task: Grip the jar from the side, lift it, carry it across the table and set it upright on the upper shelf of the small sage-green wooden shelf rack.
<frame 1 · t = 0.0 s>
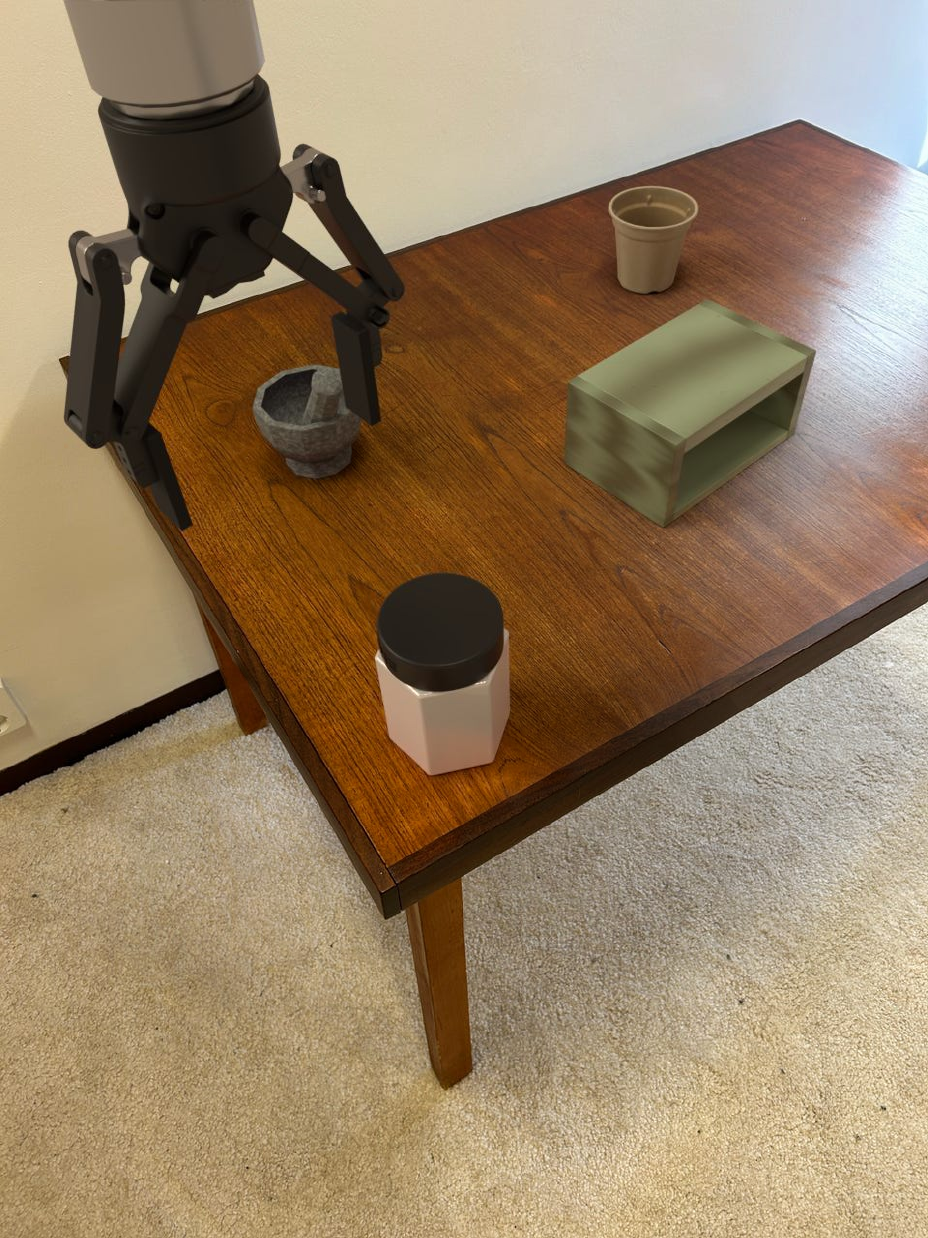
hand: (274, 463, 58), 21 cm above the table, tool pointing down, fingers open, 13 cm apart
mortar and pestle: (323, 462, 91), on the table
jar: (450, 727, 70), on the table
flower pot: (645, 282, 109), on the table
shelf: (679, 448, 89), on the table
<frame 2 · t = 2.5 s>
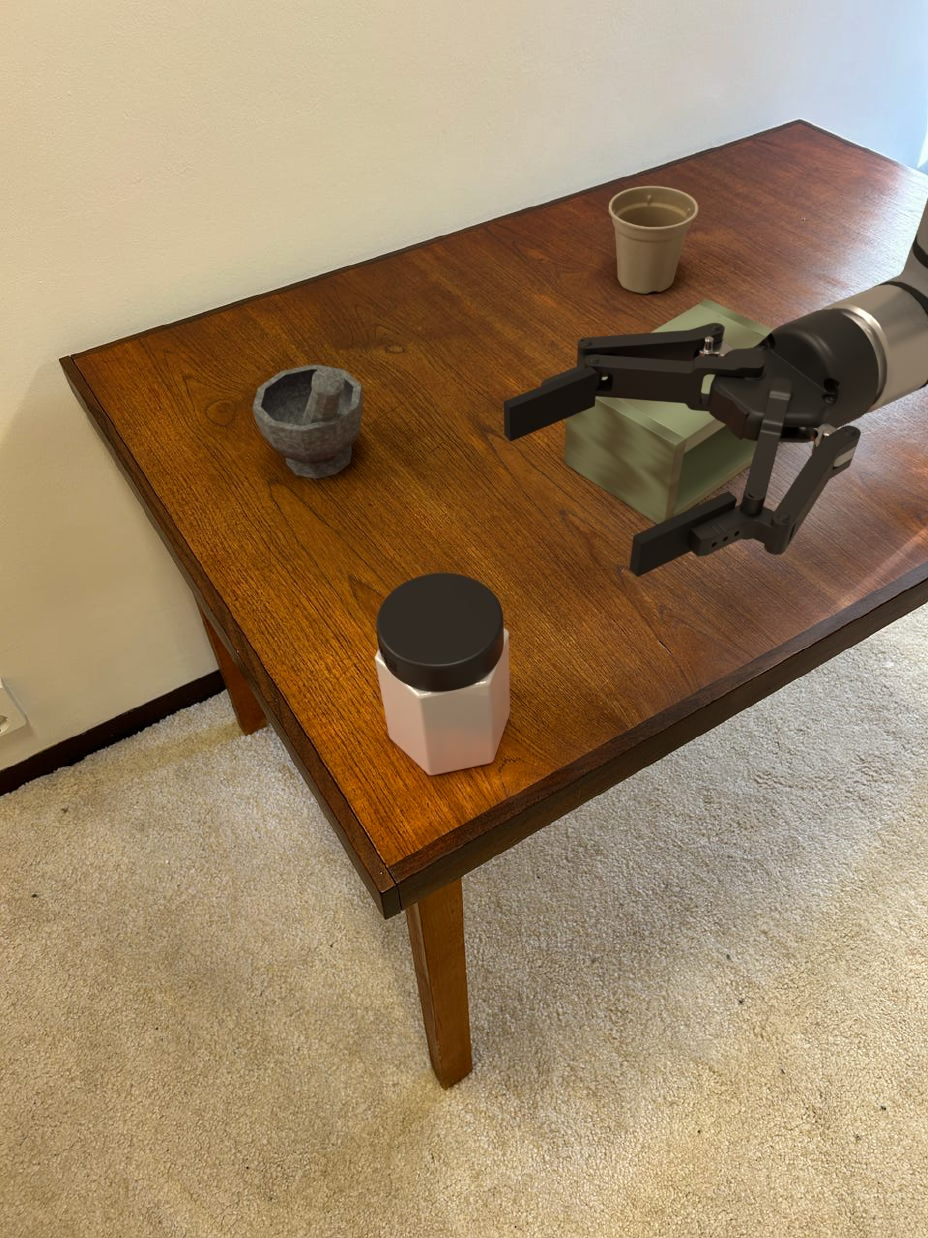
hand: (566, 485, 57), 20 cm above the table, tool horizontal, fingers open, 13 cm apart
nothing on the table moved.
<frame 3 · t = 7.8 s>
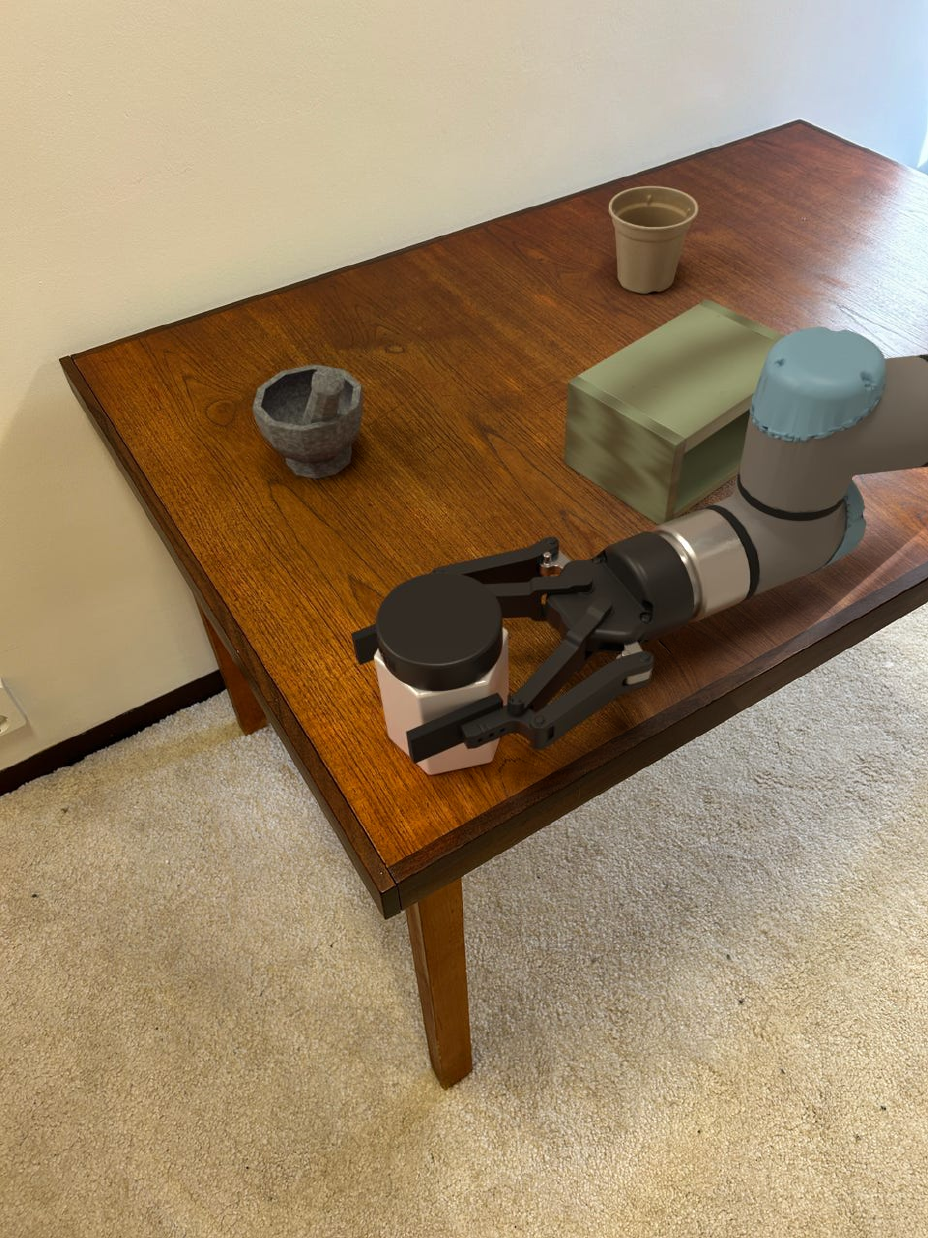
hand: (381, 696, 64), 7 cm above the table, tool horizontal, fingers closed on jar, 8 cm apart
jar: (449, 727, 70), on the table, touching gripper
everything else where it was.
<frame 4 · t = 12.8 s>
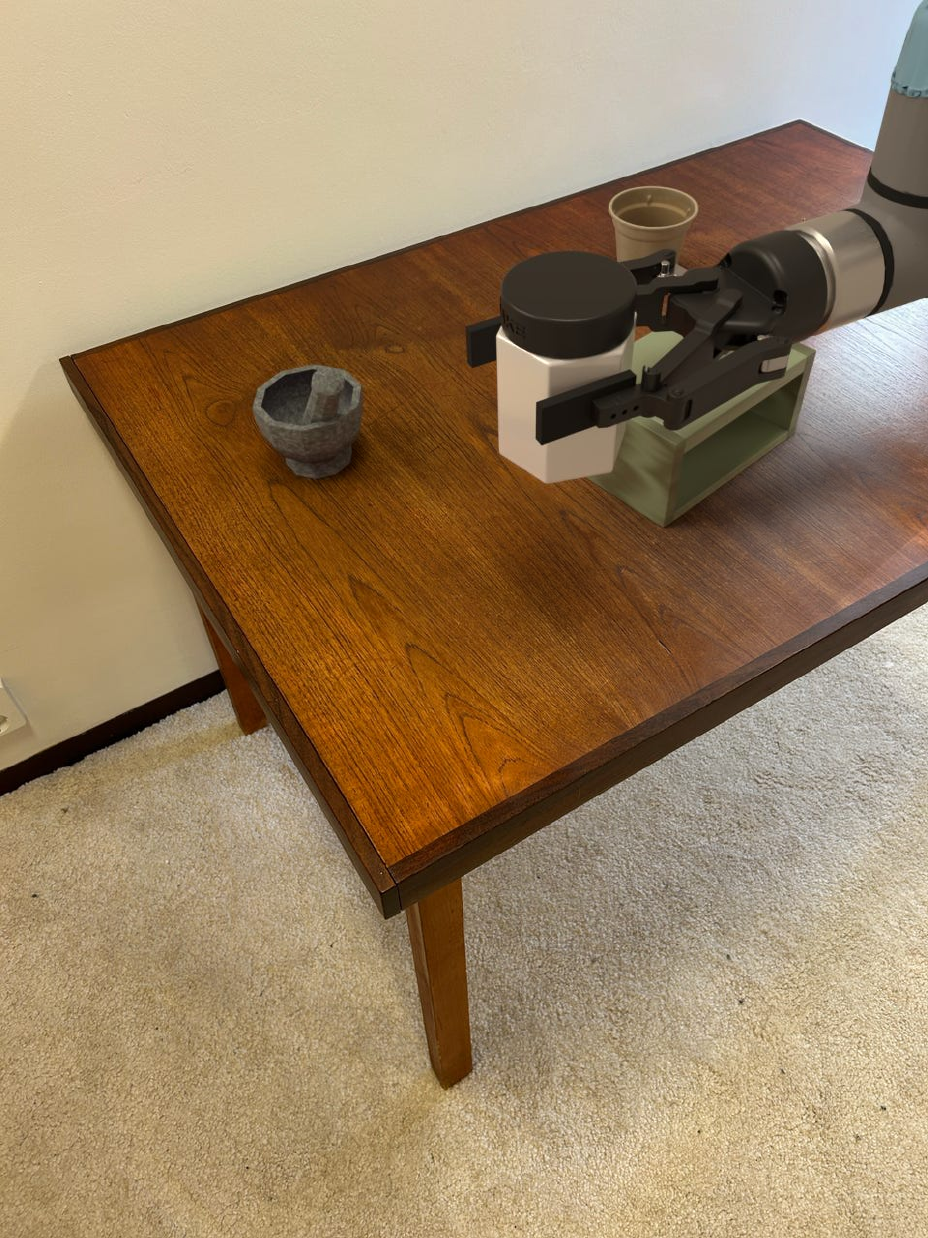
hand: (502, 384, 60), 22 cm above the table, tool horizontal, fingers closed on jar, 8 cm apart
jar: (562, 446, 66), point 15 cm above the table, touching gripper
everything else where it was.
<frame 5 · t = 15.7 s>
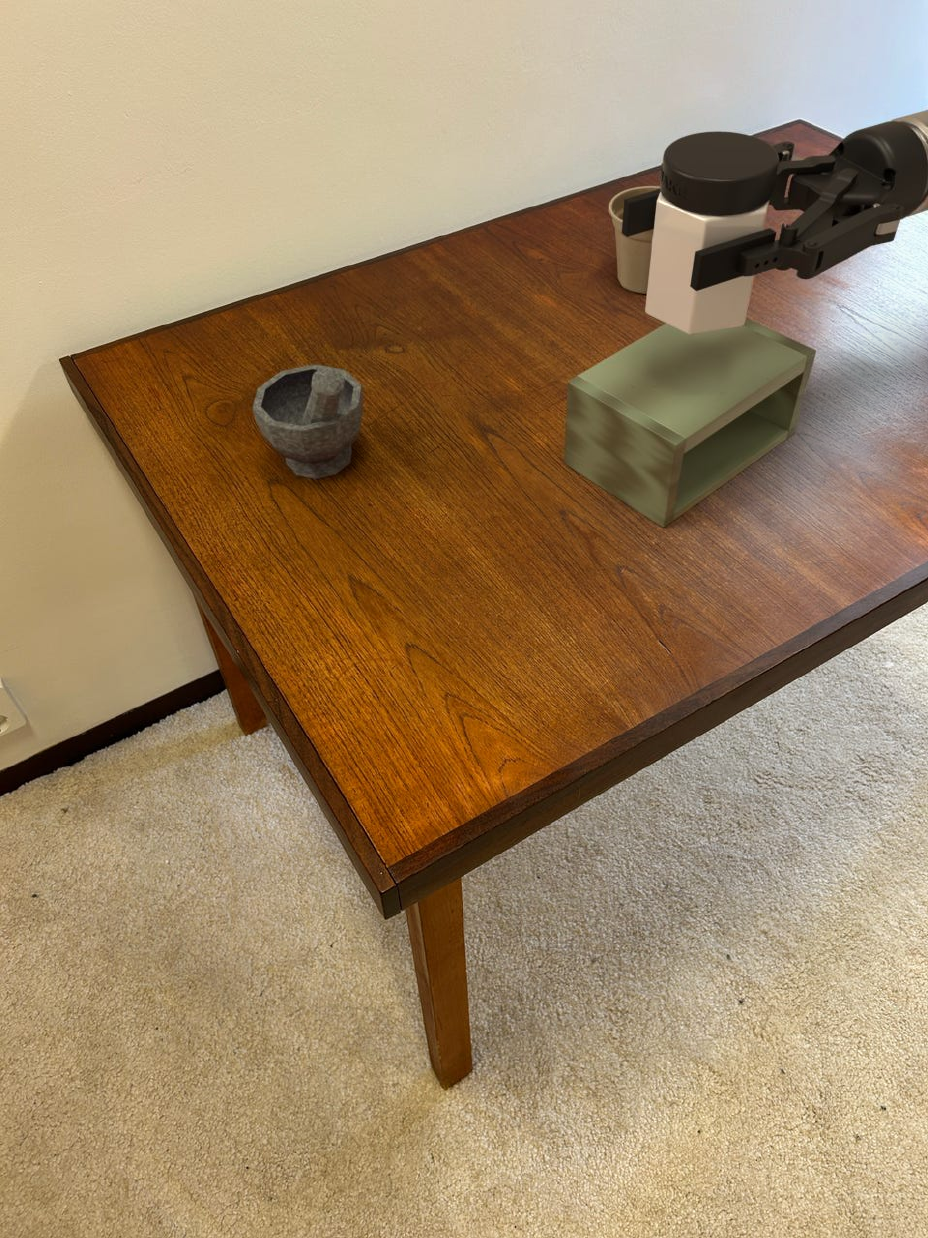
hand: (659, 243, 72), 22 cm above the table, tool horizontal, fingers closed on jar, 8 cm apart
jar: (697, 307, 78), point 15 cm above the table, touching gripper
everything else where it was.
when the fingers open (16 cm above the table, at t = 17.8 s): jar stays where it is, resting on shelf.
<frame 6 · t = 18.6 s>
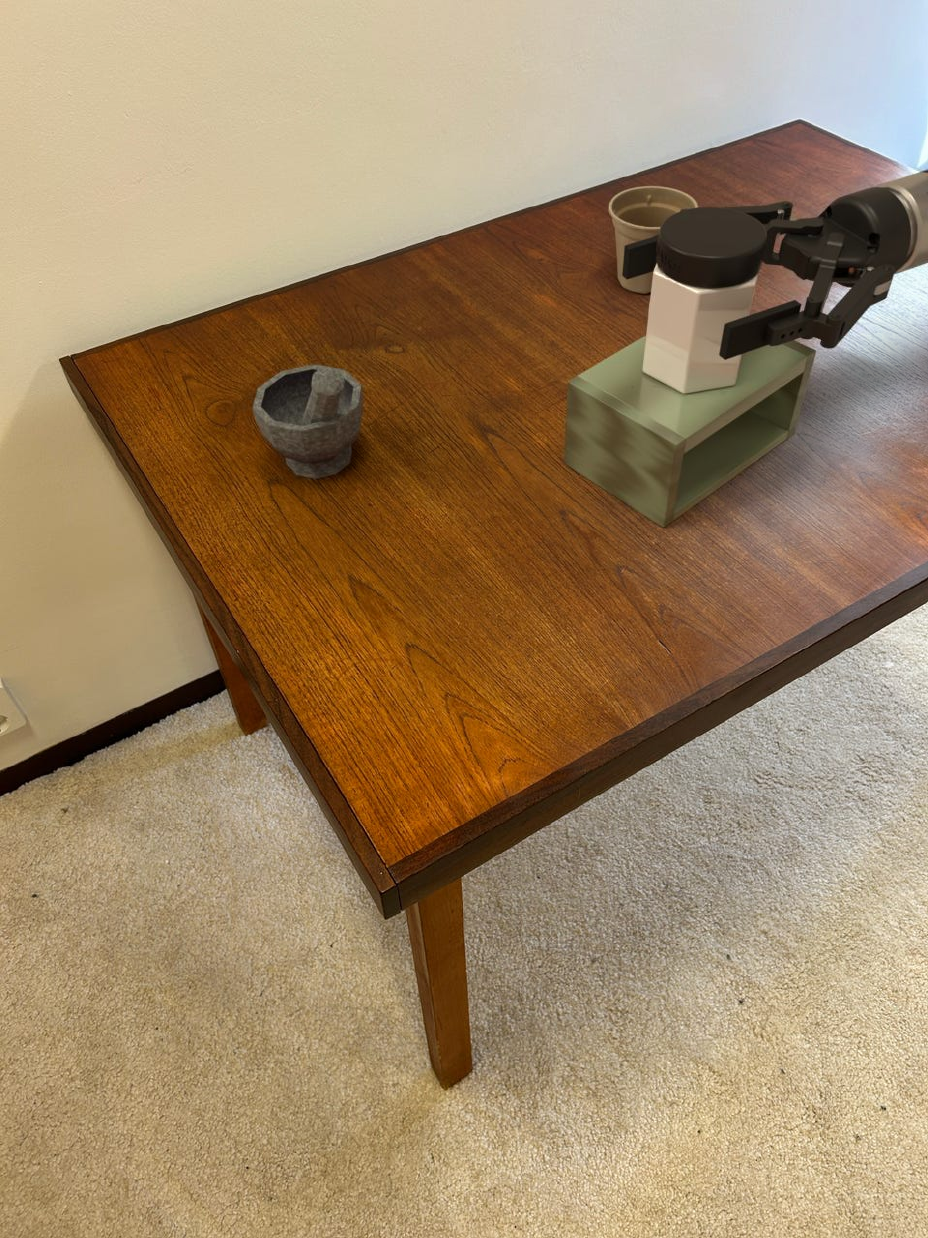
hand: (672, 300, 76), 16 cm above the table, tool horizontal, fingers open, 13 cm apart
jar: (691, 366, 83), point 9 cm above the table, touching shelf
everything else where it was.
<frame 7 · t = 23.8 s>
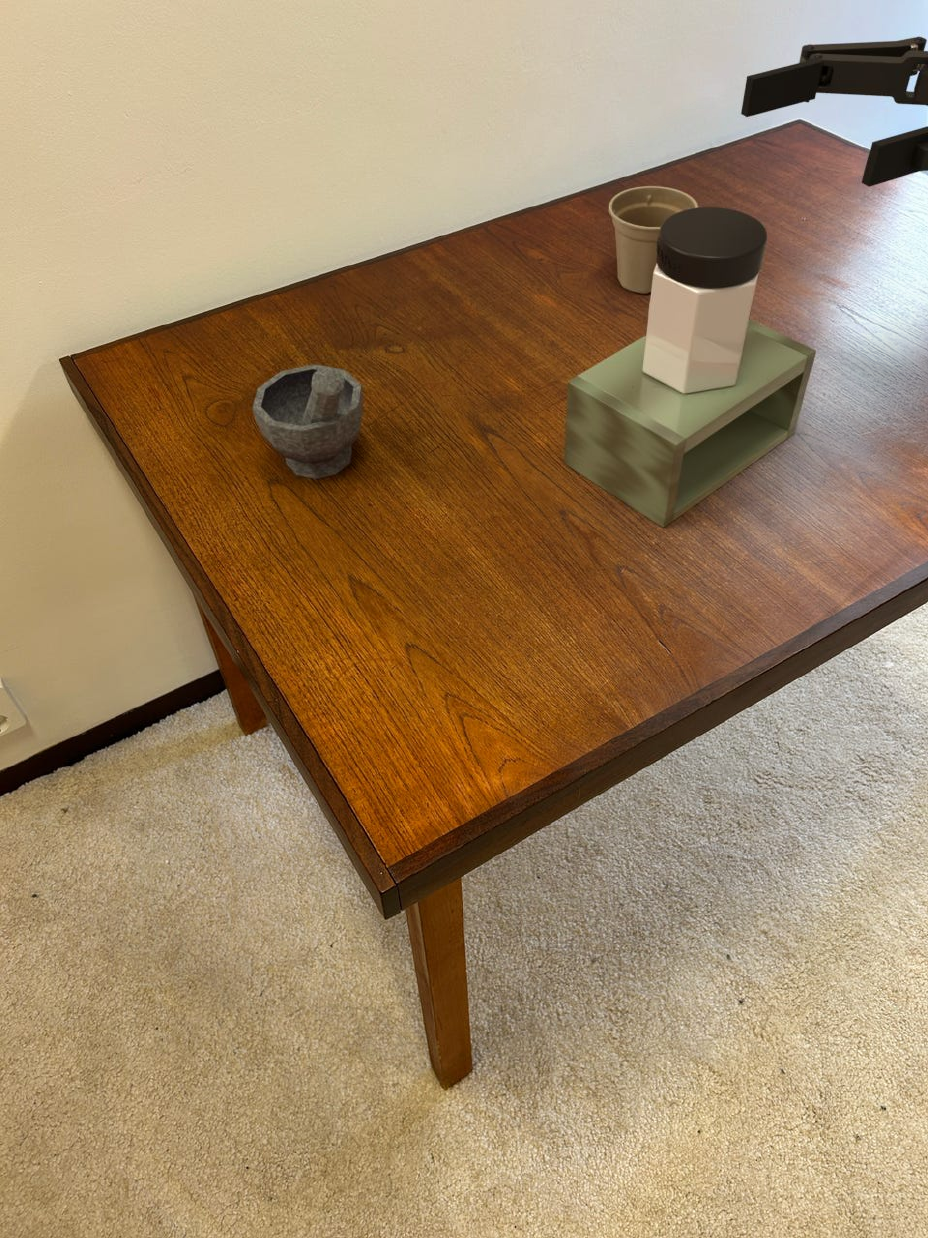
hand: (804, 128, 69), 28 cm above the table, tool horizontal, fingers open, 13 cm apart
nothing on the table moved.
at the end: jar inside the target area on the shelf (0.1 cm from its centre), point 8.8 cm above the shelf's base; jar tilted 0°; the gripper is holding nothing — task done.
